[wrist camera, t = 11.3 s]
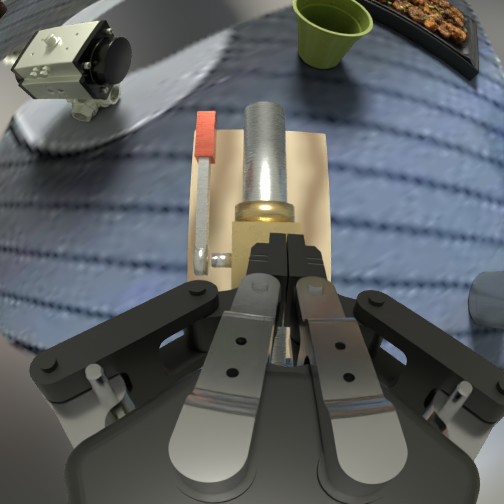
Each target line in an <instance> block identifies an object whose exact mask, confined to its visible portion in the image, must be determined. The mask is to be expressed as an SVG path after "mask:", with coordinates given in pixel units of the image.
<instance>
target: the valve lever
mask: <svg viewBox="0 0 504 504" xmlns="http://www.w3.org/2000/svg"><path fill="white" fill-rule="evenodd" d="M216 138H217V117H216V112H215V111H198V114H197V126H196V139H195V153H194V156H195V158H196V160H197V162H198V182H197V206H196V240H195V247H194V254H193V268H194V274H195V275H196V276H208V275H209V269H210V249H209V206H210V178H211V164H215V159H216Z"/></svg>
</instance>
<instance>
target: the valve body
mask: <svg viewBox="0 0 504 504" xmlns="http://www.w3.org/2000/svg"><path fill="white" fill-rule="evenodd" d="M270 232H271V233H286V241H287V233H288V234H302V230H301V223H295V207H294V205H292V204H290V203H287V160H286V128H285V110H284V108H283V107H282V106H280V105H279V104H276V103H273V102H256V103H252V104H250V105H248V106H247V107H246V108H245V110H244V139H243V191H242V203H239V204H237V205H236V206H235V222H234V221H232V253H212V259H211V263H212V267H214V268H232V269H231V289H235V288H237V287H239V284H240V281H241V280H242V278H244V277H245V276H246V273H247V268H248V262H249V257H250V252H251V247H253V246H254V245H255V244H256V243H269V236H270ZM286 337H287V327H284V313H283V322H282V327H278V331H277V335H276V337H275V343H274V349H273V356H272V362H271V363H272V364H276V365H280V366H284V365H285V364H286Z"/></svg>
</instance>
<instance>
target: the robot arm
mask: <svg viewBox="0 0 504 504" xmlns="http://www.w3.org/2000/svg"><path fill="white" fill-rule="evenodd" d="M469 310H470V314H471V317H472V318H473V320H474V321H475V322H476V323H477V324H479V325H483V326H488V327H494V328H498V329H504V271H496V272H483V273H481V274H480V275H478V277H477V278H476V279H475V281H474V282H473V284H472V287H471V290H470V294H469ZM283 313H284V327H290V335H289V352H290V361H291V367H284V366H280V365H276V364H272V363H271V362H272V356H273V349H274V343H275V337H276V335H277V331H278V327H282V322H283ZM182 329H183V330H184V335H182V336H180V337H179V338H177V339H175V340H174V341H172V342H170V343H168V344H167V345H165V346H163V347H161V348H159V347H160V345H161V343H162V342H163V341H164V340H165V339H167V338H168V337H170V336H172V335H174V334H175V333H177V332H179V331H181V330H182ZM383 338H384V339H386V340H387V341H388V342H390V343H391V344H393V345H394V346H395V347H397V348H398V349H400V350H401V351H402V352H403V353H404V354H405V356H406V358H407V364H406V366H405V365H404V364H402V363H401V362H400V361H398V360H397V359H396V358H394V357H393V356H392V355H390V354H389V353H388V352H386V351H385V350H384V349H382V348H381V347H380V345H381V343H382V340H383ZM201 367H202V369H200V368H201ZM198 369H199V370H198ZM30 376H31V377H32V379H33V381H34V382H35V384H36V385H37V387H38V388H39V389H40V391H41V393H42V395H43V397H44V398H45V400H46V401H47V403H48V404H49V405H50V407H51V408H52V409H53V411H54V412H55V413H56V415H57V417H58V419H59V421H60V423H61V424H62V426H63V429H64V431H65V433H66V434H67V436H68V438H69V440H70V442H71V444H72V445H73V447H74V450H73V451H72V452H71V454H70V456H69V458H68V460H67V463H66V466H65V471H64V481H65V487H66V493H67V502H68V504H476V502H477V498H478V494H479V489H480V478H479V473H478V470H477V467H476V465H475V463H474V459H475V458H476V456H477V454H478V453H479V451H480V449H481V448H482V445H483V444H484V442H485V440H486V438H487V437H488V435H489V433H490V431H491V429H492V428H493V427H494V426H495V425H496V424H497V423H498V422H499V421H500V419H501V418H502V417H503V416H504V372H503V371H502V370H500V369H499V368H497V367H496V366H495V365H493V364H492V363H490V362H489V361H487V360H486V359H484V358H483V357H481V356H480V355H479V354H477V353H476V352H474V351H473V350H471V349H470V348H468V347H467V346H465V345H464V344H462V343H461V342H459V341H458V340H456V339H455V338H453V337H452V336H450V335H449V334H447V333H446V332H444V331H443V330H441V329H439V328H438V327H436V326H435V325H433V324H432V323H430V322H429V321H427V320H426V319H424V318H422V317H421V316H419V315H418V314H416V313H415V312H413V311H412V310H410V309H408V308H407V307H405V306H404V305H402V304H401V303H399V302H397V301H396V300H394V299H393V298H391V297H389V296H388V295H386V294H384V293H382V292H379V291H374V290H367V291H363V292H361V293H359V295H358V296H357V299H352V298H348V297H344V296H341V295H339V294H337V292H336V289H335V287H334V285H333V284H332V283H331V282H330V281H328V280H327V276H326V271H325V267H324V263H323V259H322V254H321V251H320V250H319V249H317V248H316V247H315V246H307V245H305V239H304V234H288V233H287V241H286V233H271V232H270V236H269V243H256V244H255V245H254V246H253V247H251V252H250V257H249V262H248V268H247V273H246V276H245V277H244V278H242V280H241V281H240V284H239V287H237V288H235V289H231V290H226V291H218V288H217V286H216V285H215V284H213V283H212V282H209V281H206V280H193V281H189V282H186V283H184V284H182V285H180V286H178V287H176V288H174V289H172V290H170V291H167V292H165V293H163V294H161V295H159V296H157V297H155V298H153V299H151V300H149V301H147V302H145V303H143V304H140V305H138V306H136V307H134V308H132V309H130V310H128V311H126V312H124V313H122V314H120V315H118V316H116V317H113V318H111V319H109V320H107V321H105V322H103V323H101V324H99V325H97V326H95V327H93V328H91V329H89V330H86V331H84V332H82V333H80V334H78V335H76V336H74V337H72V338H70V339H68V340H66V341H64V342H62V343H60V344H57V345H55V346H53V347H51V348H49V349H47V350H45V351H43V352H41V353H40V354H38V355H37V356H36V357H35V358H34V359H33V361H32V363H31V365H30ZM135 408H136V409H135Z"/></svg>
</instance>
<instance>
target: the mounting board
mask: <svg viewBox="0 0 504 504" xmlns="http://www.w3.org/2000/svg"><path fill="white" fill-rule="evenodd" d="M195 139H196V130H195V134H194V146H193V159H192V174H191V190H190V210H189V235H188V282H189V281H193V280H206V281H209V282H212V283H213V284H215V285H216V286H217V288H218V291H226V290H231V269H232V268H214V267H212V263H211V259H212V253H232V221H234V222H235V206H236V205H237V204H239V203H242V191H243V139H244V130H217V138H216V159H215V164H211V178H210V206H209V249H210V269H209V275H208V276H196V275H195V274H194V268H193V254H194V247H195V240H196V206H197V182H198V162H197V160H196V158H195V156H194V153H195ZM286 160H287V203H290V204H292V205H294V207H295V223H301V230H302V234H304V239H305V245H307V246H315V247H316V248H317V249H319V250H320V251H321V254H322V259H323V263H324V267H325V271H326V276H327V280H328V281H330V282H331V229H330V199H329V179H328V163H327V149H326V136H325V134H321V133H309V132H293V131H286ZM289 335H290V327H287V337H286V358H290V352H289Z"/></svg>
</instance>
